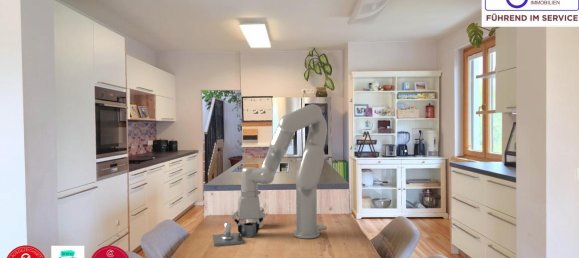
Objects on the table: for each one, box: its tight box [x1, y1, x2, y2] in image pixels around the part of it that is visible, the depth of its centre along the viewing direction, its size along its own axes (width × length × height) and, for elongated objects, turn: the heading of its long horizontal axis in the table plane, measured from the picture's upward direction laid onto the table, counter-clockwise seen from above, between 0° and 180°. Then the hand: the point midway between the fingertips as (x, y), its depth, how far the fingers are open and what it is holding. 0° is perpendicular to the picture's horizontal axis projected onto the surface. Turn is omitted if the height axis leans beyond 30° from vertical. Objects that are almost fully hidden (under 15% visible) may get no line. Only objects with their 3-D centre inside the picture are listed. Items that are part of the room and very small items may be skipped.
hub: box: [240, 222, 257, 238], centre depth 152 cm, size 7×7×5 cm
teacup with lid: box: [242, 206, 265, 230], centre depth 165 cm, size 12×9×12 cm
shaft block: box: [212, 221, 244, 247], centre depth 144 cm, size 12×12×8 cm
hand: (248, 232), depth 152 cm, fingers closed on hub, 7 cm apart
